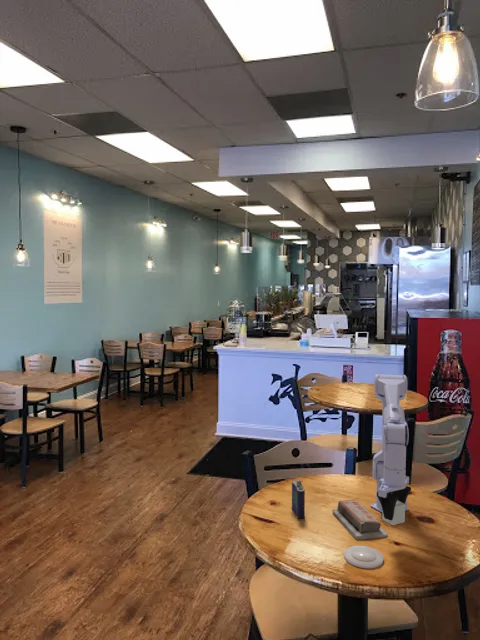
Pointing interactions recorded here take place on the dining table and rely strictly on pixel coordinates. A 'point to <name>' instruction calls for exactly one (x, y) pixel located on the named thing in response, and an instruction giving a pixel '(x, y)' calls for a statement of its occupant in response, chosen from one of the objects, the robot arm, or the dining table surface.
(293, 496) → the flask
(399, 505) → the mint block
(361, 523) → the packaged product
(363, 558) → the saucer
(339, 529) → the dining table surface
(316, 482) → the dining table surface
